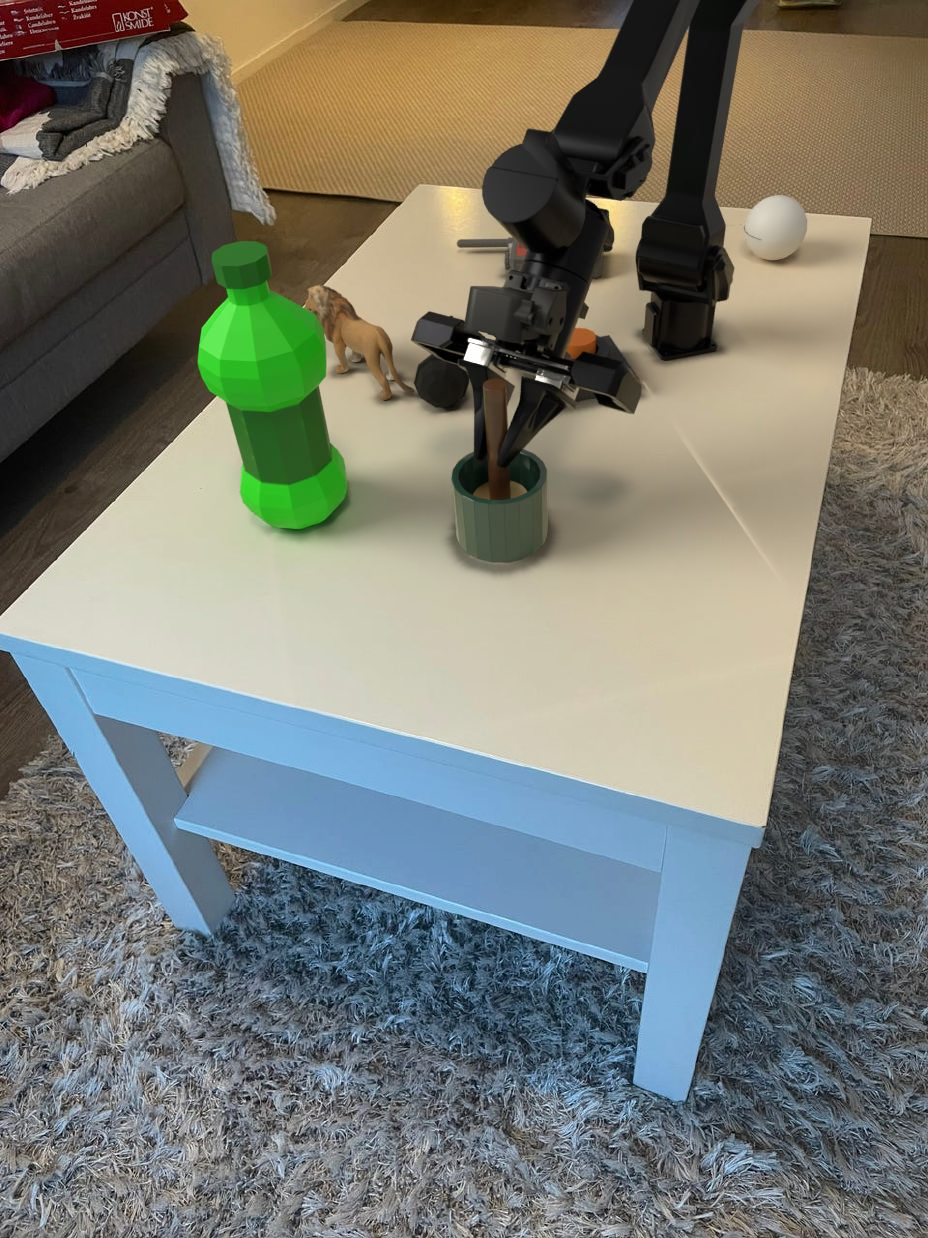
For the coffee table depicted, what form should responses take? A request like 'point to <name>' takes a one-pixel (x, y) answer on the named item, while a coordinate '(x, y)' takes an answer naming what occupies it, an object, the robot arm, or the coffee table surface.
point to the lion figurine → (353, 336)
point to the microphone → (440, 382)
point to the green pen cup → (501, 510)
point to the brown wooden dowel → (496, 444)
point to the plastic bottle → (272, 392)
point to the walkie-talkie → (516, 251)
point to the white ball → (775, 227)
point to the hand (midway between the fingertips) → (489, 463)
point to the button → (582, 342)
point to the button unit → (603, 348)
